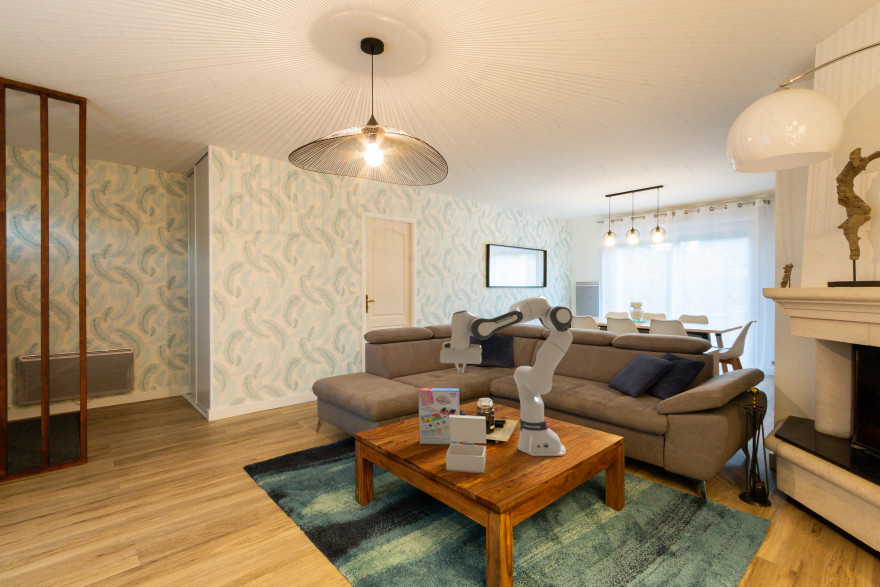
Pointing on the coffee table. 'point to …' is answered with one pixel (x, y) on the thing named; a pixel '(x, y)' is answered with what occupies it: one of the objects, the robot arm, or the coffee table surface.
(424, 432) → the game box
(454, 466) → the mailer box
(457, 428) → the lid
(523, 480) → the coffee table surface
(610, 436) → the coffee table surface
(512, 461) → the coffee table surface
